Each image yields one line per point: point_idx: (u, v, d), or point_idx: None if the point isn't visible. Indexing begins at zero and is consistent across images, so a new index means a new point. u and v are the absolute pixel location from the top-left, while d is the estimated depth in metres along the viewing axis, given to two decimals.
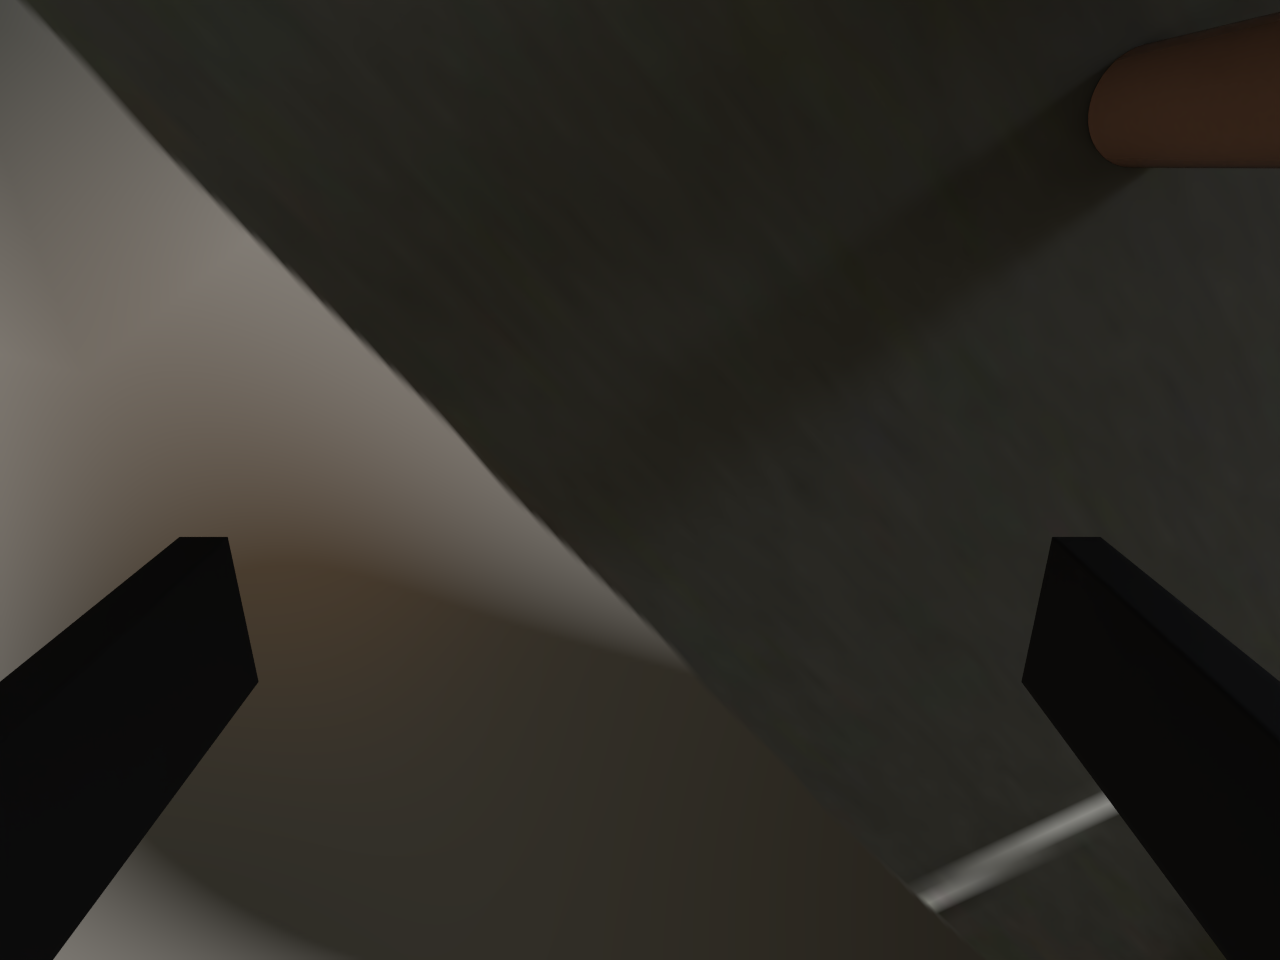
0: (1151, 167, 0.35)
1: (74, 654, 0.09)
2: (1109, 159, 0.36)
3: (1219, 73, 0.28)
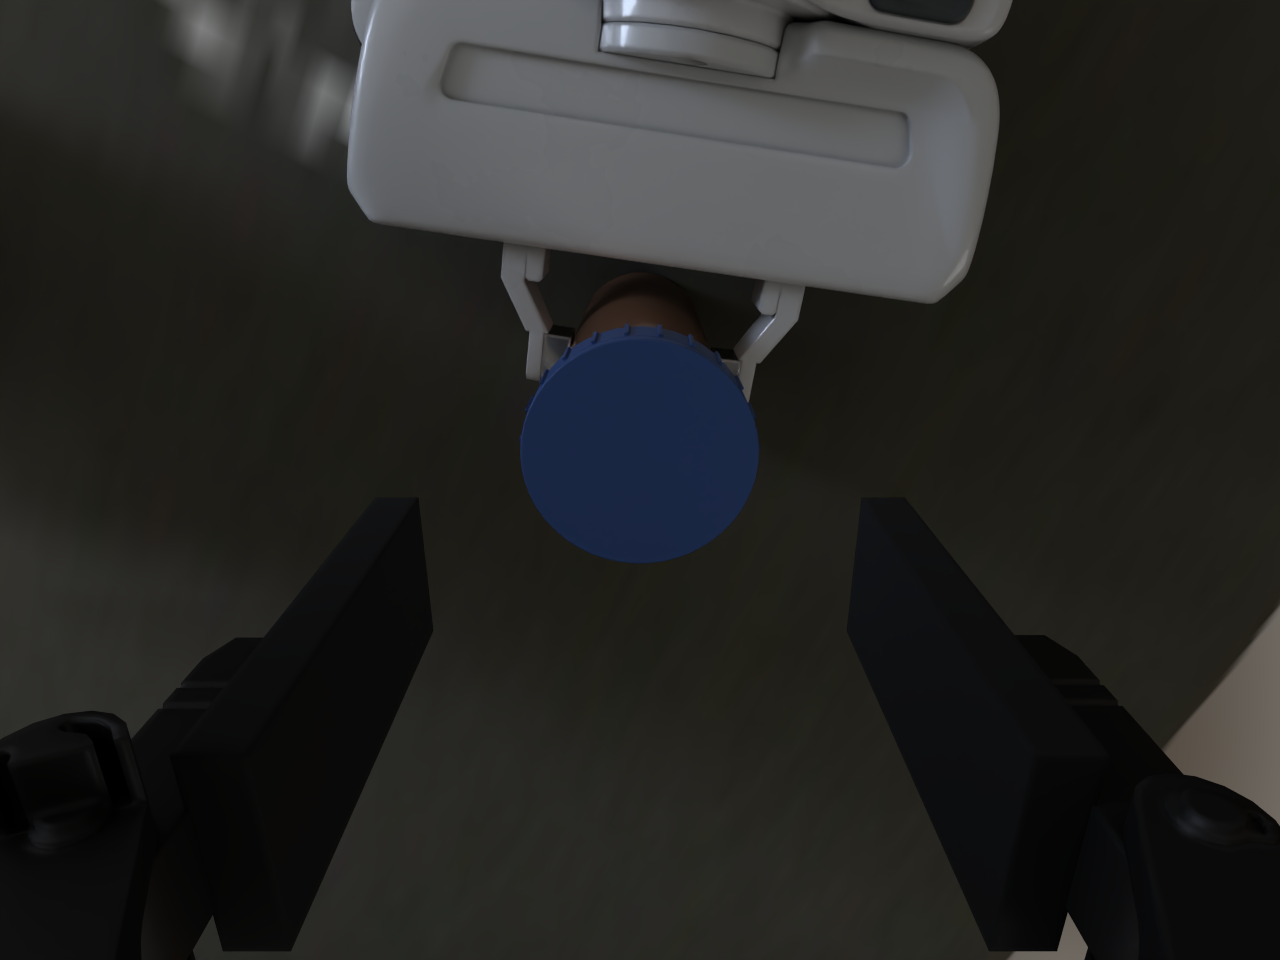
0: None
1: (338, 588, 0.11)
2: None
3: None
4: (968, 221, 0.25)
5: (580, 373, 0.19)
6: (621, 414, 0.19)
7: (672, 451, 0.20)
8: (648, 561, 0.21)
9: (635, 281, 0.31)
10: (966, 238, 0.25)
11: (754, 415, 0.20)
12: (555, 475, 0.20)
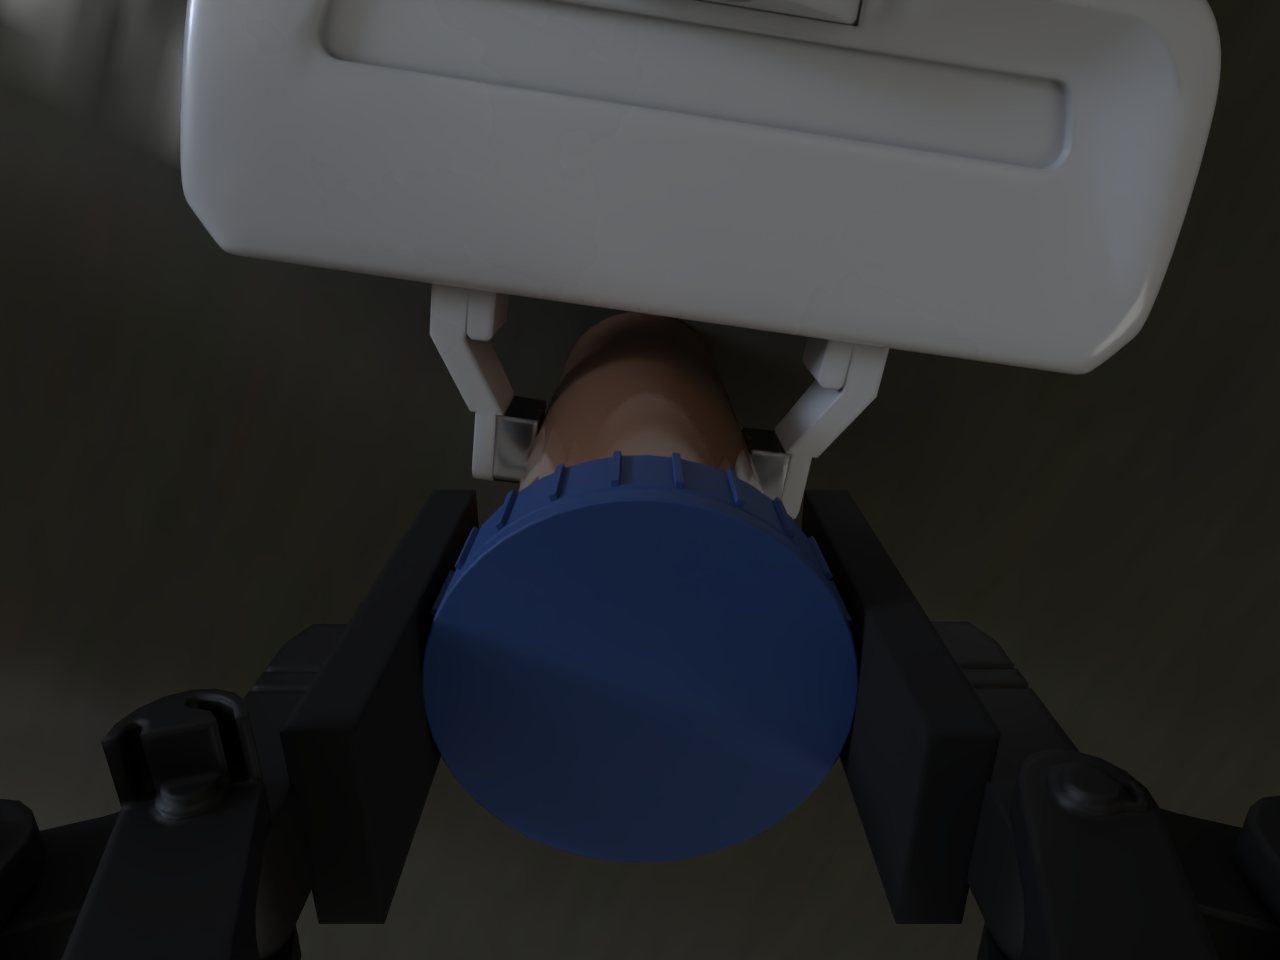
0: None
1: (413, 576, 0.11)
2: None
3: None
4: (1154, 252, 0.16)
5: (528, 559, 0.10)
6: (606, 628, 0.10)
7: (700, 689, 0.11)
8: (655, 860, 0.12)
9: (633, 328, 0.22)
10: (1148, 278, 0.16)
11: (849, 621, 0.11)
12: (487, 728, 0.11)
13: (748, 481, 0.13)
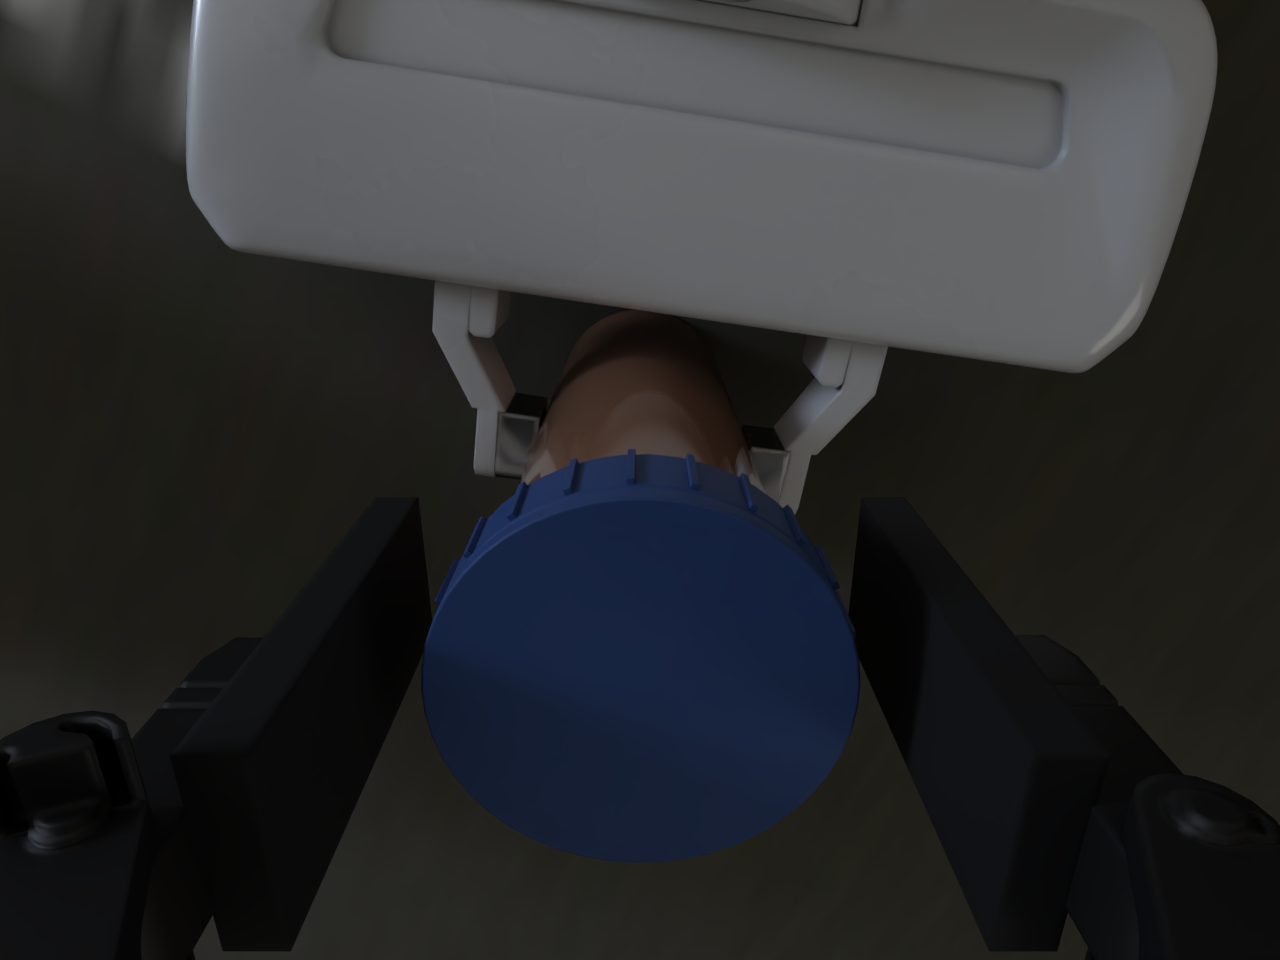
0: None
1: (338, 588, 0.11)
2: None
3: None
4: (1150, 252, 0.16)
5: (465, 747, 0.11)
6: (553, 706, 0.11)
7: (645, 647, 0.10)
8: (847, 732, 0.11)
9: (634, 326, 0.22)
10: (1145, 278, 0.16)
11: (627, 480, 0.10)
12: (633, 821, 0.12)
13: None
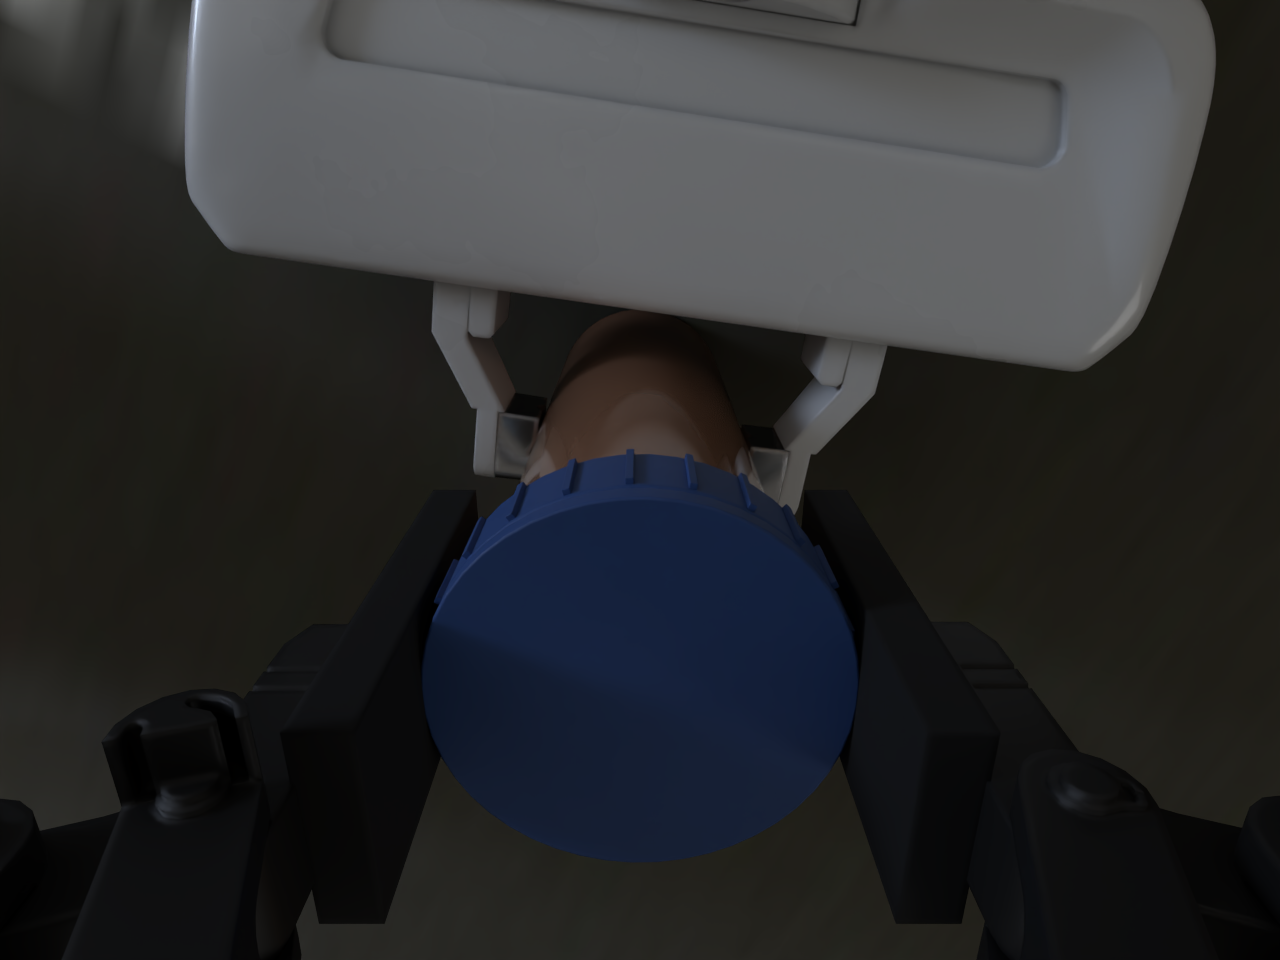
0: None
1: (413, 576, 0.11)
2: None
3: None
4: (1149, 250, 0.16)
5: (464, 747, 0.11)
6: (552, 706, 0.11)
7: (644, 647, 0.10)
8: (846, 731, 0.11)
9: (633, 326, 0.22)
10: (1144, 276, 0.16)
11: (626, 480, 0.10)
12: (633, 821, 0.12)
13: (747, 476, 0.14)
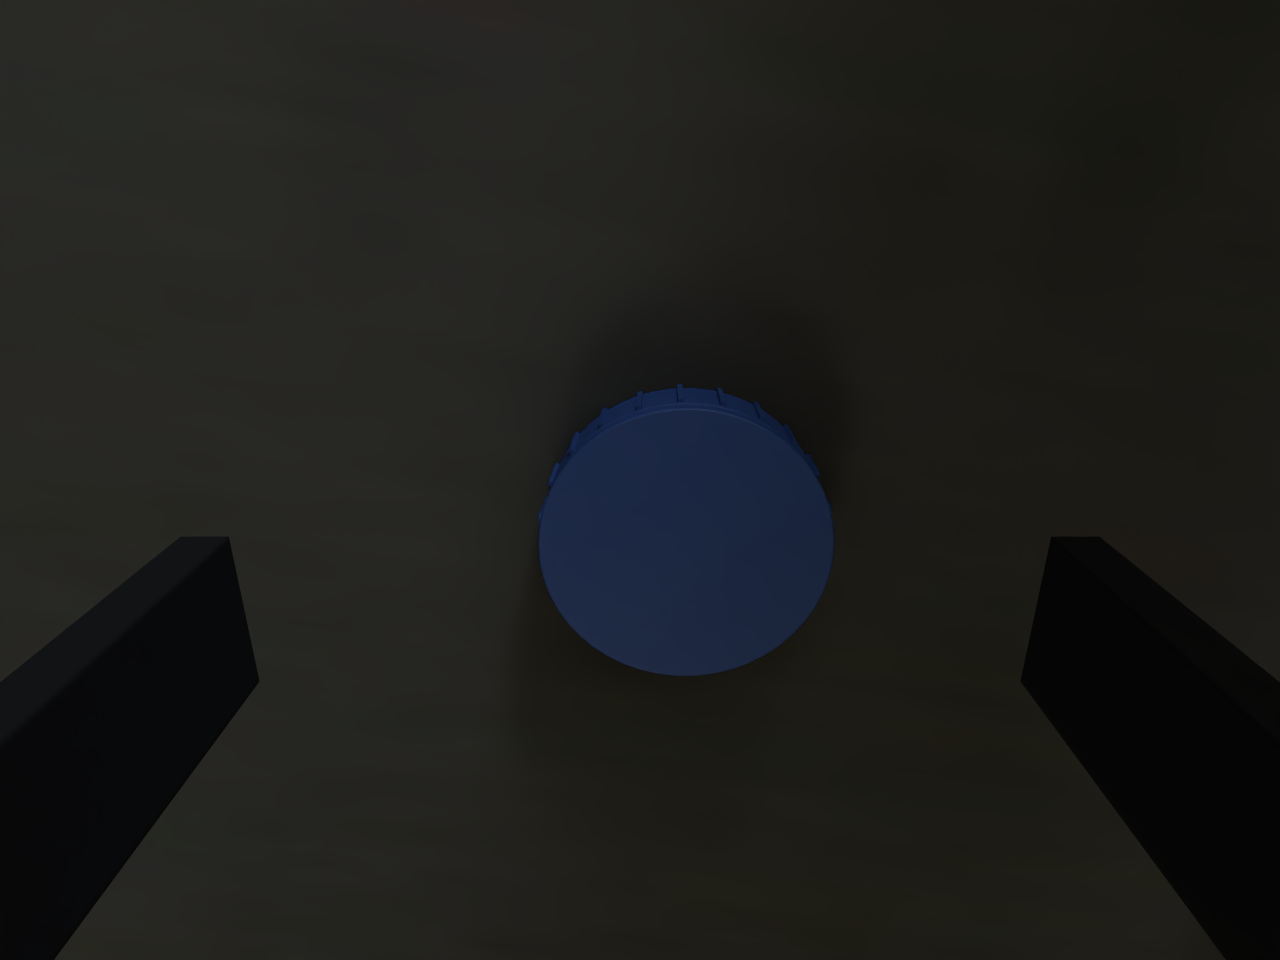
0: None
1: (76, 654, 0.09)
2: None
3: None
4: None
5: (565, 585, 0.16)
6: (626, 556, 0.16)
7: (689, 513, 0.16)
8: (826, 577, 0.16)
9: None
10: None
11: (678, 399, 0.15)
12: (679, 644, 0.17)
13: None
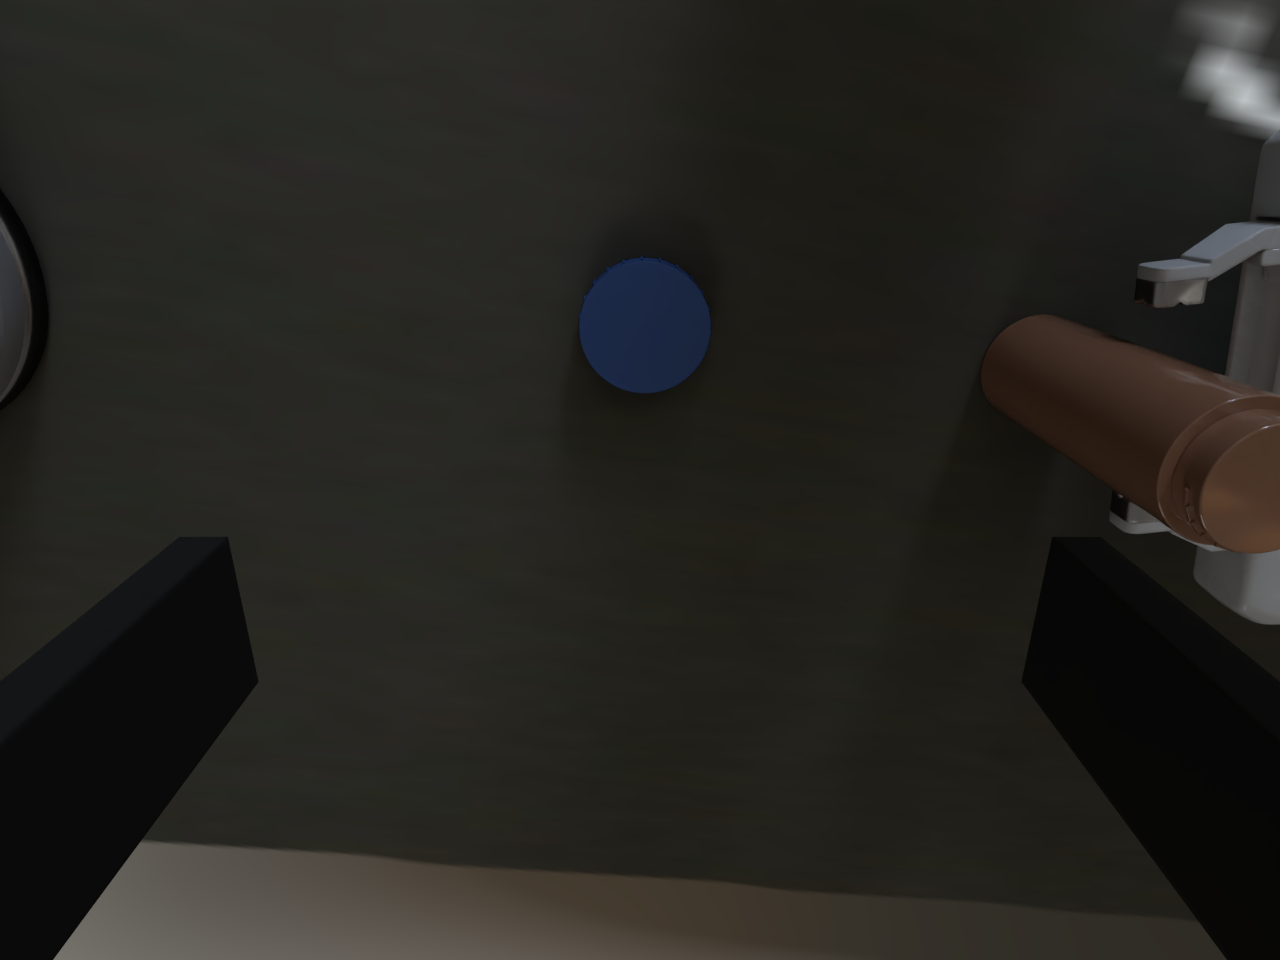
0: None
1: (74, 654, 0.09)
2: None
3: (1071, 452, 0.31)
4: None
5: (591, 347, 0.36)
6: (618, 332, 0.36)
7: (646, 310, 0.35)
8: (708, 341, 0.36)
9: None
10: None
11: (641, 259, 0.35)
12: (642, 376, 0.36)
13: None
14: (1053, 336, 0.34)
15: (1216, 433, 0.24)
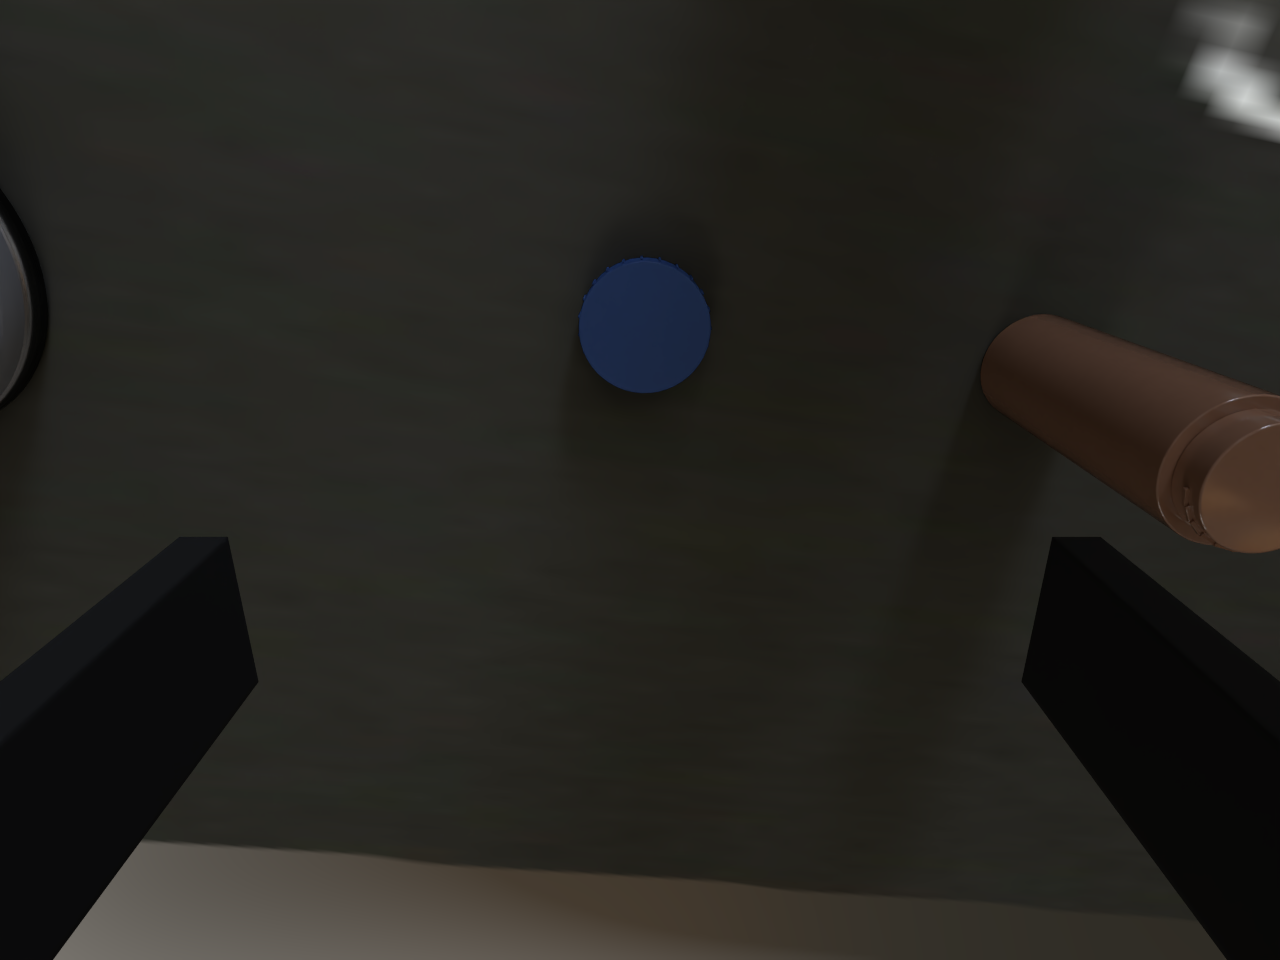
0: None
1: (75, 654, 0.09)
2: None
3: (1071, 452, 0.31)
4: None
5: (591, 347, 0.36)
6: (618, 332, 0.36)
7: (646, 310, 0.35)
8: (707, 341, 0.36)
9: None
10: None
11: (640, 259, 0.35)
12: (642, 376, 0.36)
13: None
14: (1052, 336, 0.34)
15: (1216, 433, 0.24)
